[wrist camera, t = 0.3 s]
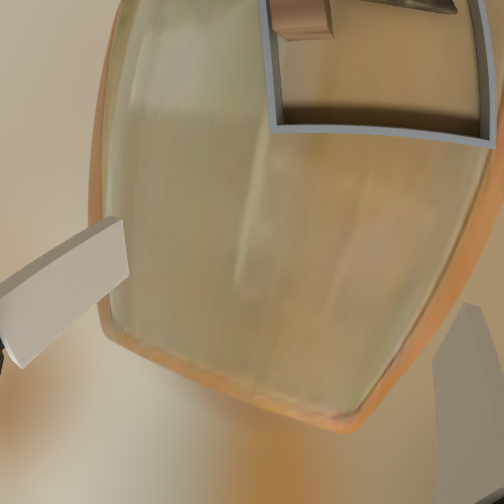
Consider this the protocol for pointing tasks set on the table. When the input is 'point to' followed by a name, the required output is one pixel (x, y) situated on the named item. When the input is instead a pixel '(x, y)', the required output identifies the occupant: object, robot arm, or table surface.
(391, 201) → the table surface
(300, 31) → the walnut block
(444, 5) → the stone
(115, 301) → the table surface
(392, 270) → the table surface
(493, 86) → the parts tray
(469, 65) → the table surface
